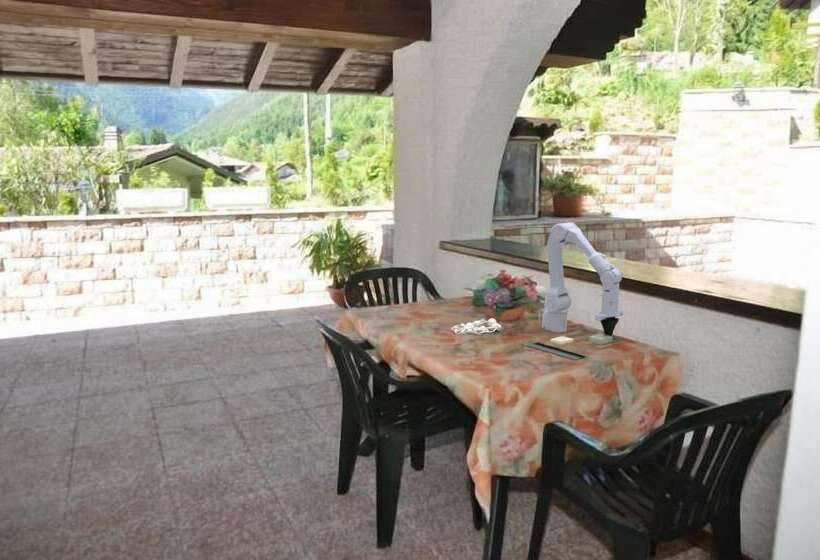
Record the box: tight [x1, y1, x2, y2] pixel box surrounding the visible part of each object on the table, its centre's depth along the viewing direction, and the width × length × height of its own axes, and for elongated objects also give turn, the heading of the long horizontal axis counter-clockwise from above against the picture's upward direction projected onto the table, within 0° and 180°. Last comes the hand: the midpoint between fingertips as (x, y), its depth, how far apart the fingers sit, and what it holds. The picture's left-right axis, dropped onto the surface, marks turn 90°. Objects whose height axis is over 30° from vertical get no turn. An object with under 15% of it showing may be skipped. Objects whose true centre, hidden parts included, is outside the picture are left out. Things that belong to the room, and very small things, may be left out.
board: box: [556, 330, 624, 349], centre depth 222 cm, size 20×14×2 cm
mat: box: [526, 342, 588, 361], centre depth 213 cm, size 22×14×1 cm, turn 36°
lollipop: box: [535, 285, 548, 320], centre depth 257 cm, size 6×6×15 cm
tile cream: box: [549, 336, 574, 346], centre depth 219 cm, size 5×7×2 cm
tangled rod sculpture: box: [451, 318, 503, 335], centre depth 239 cm, size 19×14×4 cm
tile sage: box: [589, 333, 614, 345], centre depth 218 cm, size 5×7×2 cm
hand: (608, 336), depth 220 cm, fingers closed
